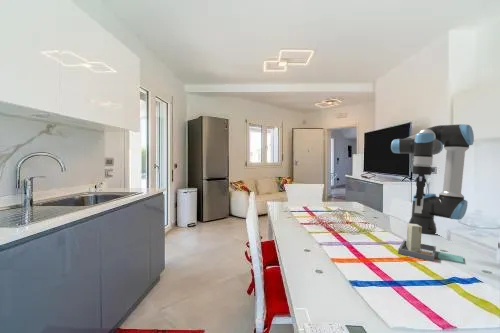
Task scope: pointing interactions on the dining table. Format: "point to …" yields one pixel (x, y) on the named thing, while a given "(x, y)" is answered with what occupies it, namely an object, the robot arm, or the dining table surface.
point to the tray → (416, 254)
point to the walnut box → (425, 252)
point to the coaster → (450, 257)
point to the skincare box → (413, 237)
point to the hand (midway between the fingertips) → (418, 210)
